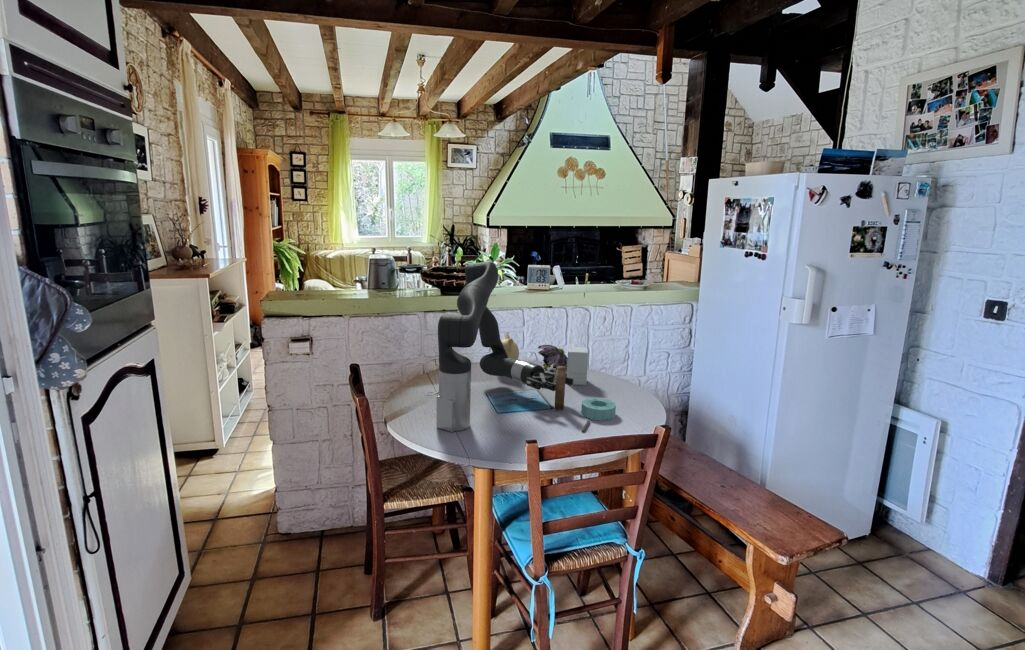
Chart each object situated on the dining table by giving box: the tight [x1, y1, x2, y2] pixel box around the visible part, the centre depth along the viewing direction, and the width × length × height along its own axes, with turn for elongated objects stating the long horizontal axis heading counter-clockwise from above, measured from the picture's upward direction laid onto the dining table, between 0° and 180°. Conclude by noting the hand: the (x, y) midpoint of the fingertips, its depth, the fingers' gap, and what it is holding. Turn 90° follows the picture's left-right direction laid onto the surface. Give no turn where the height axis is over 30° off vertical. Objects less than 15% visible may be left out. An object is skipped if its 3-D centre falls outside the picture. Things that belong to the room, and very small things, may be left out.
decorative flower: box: [537, 344, 568, 372], centre depth 219 cm, size 15×12×15 cm
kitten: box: [501, 332, 520, 360], centre depth 216 cm, size 15×10×15 cm
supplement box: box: [566, 346, 589, 386], centre depth 207 cm, size 7×7×13 cm
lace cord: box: [581, 419, 591, 433], centre depth 167 cm, size 8×1×1 cm, turn 160°
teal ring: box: [580, 397, 617, 421], centre depth 177 cm, size 10×10×4 cm
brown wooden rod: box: [554, 366, 567, 411], centre depth 180 cm, size 3×3×14 cm
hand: (564, 385), depth 178 cm, fingers open, 8 cm apart
